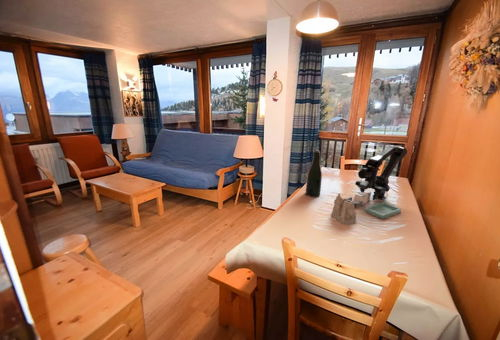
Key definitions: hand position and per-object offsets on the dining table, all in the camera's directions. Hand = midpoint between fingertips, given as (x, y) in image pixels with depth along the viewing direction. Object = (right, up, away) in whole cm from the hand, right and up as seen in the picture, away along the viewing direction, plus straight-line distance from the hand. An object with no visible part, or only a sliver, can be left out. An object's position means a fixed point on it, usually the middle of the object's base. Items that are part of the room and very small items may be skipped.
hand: (367, 197), depth 154 cm
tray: (0, -7, -17) cm, 18 cm away
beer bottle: (-36, +1, +9) cm, 37 cm away
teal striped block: (-4, -2, -2) cm, 5 cm away
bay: (-14, -3, -7) cm, 16 cm away
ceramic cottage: (-26, -9, -24) cm, 37 cm away
